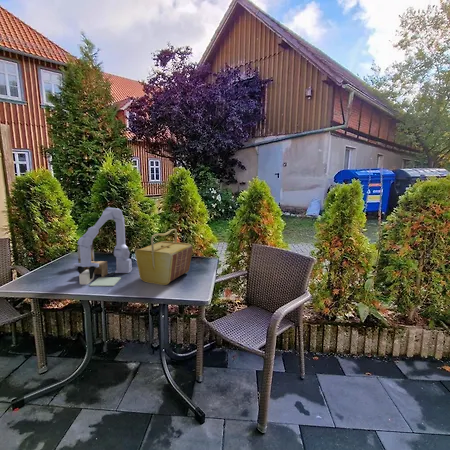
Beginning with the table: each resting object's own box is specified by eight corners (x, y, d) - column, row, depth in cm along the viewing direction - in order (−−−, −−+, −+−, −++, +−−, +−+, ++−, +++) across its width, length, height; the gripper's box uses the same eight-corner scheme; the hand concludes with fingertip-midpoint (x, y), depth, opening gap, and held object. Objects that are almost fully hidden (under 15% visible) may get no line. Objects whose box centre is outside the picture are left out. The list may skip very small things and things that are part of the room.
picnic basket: (171, 288, 170) (170, 237, 165) (134, 282, 178) (132, 233, 174) (193, 273, 197) (193, 229, 192) (160, 268, 205) (159, 226, 201)
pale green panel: (121, 278, 185) (121, 277, 184) (113, 286, 171) (113, 285, 171) (98, 278, 184) (98, 277, 184) (89, 286, 170) (89, 285, 170)
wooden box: (107, 273, 193) (107, 261, 192) (103, 277, 185) (102, 264, 184) (86, 273, 193) (85, 261, 191) (80, 277, 185) (79, 264, 183)
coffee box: (86, 269, 202) (85, 246, 200) (78, 268, 203) (76, 245, 201) (94, 265, 211) (93, 243, 209) (87, 264, 212) (85, 243, 210)
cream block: (94, 278, 183) (93, 269, 182) (87, 284, 173) (86, 274, 172) (87, 278, 183) (86, 269, 182) (79, 284, 173) (79, 274, 172)
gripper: (70, 258, 171) (71, 280, 173) (95, 258, 172) (96, 280, 174) (75, 255, 178) (77, 276, 180) (100, 255, 179) (101, 276, 181)
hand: (87, 278), depth 178 cm, fingers closed on cream block, 4 cm apart
